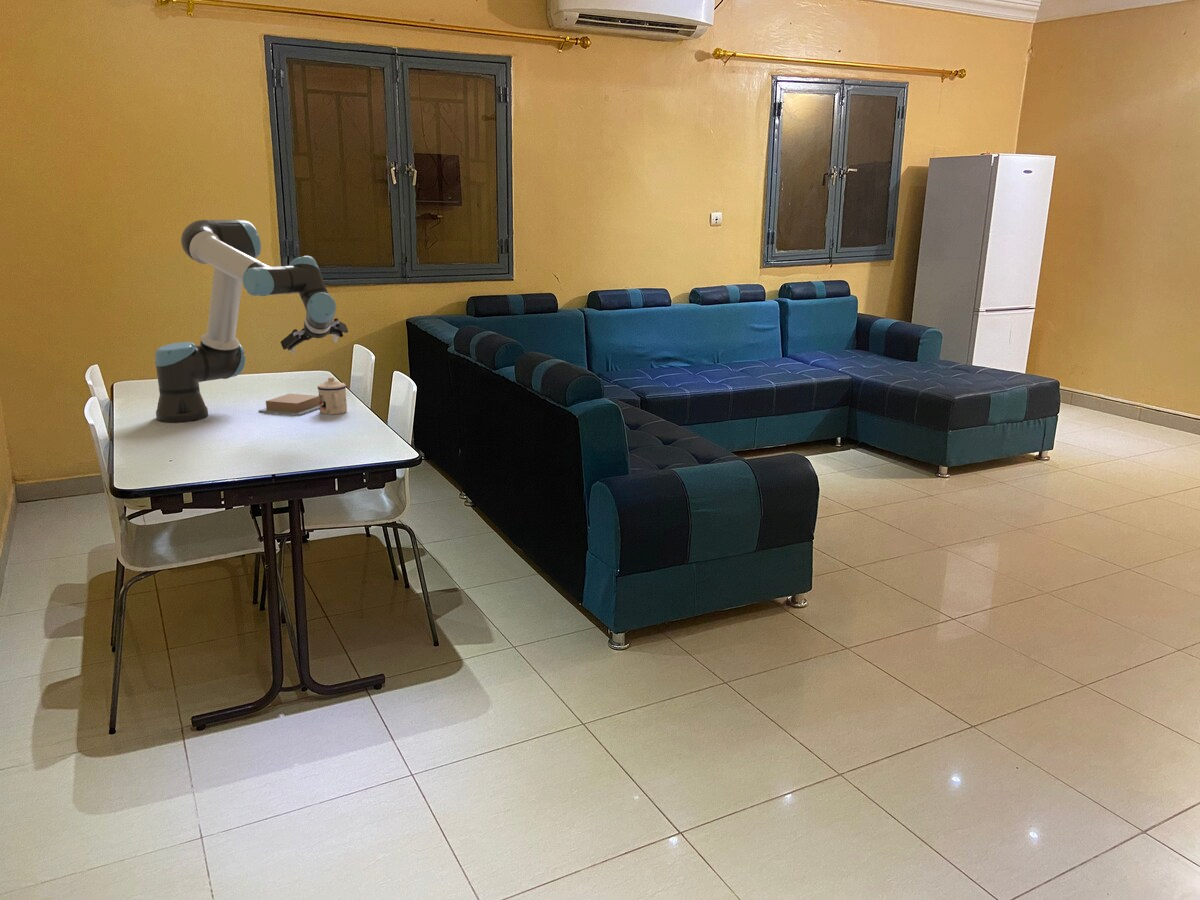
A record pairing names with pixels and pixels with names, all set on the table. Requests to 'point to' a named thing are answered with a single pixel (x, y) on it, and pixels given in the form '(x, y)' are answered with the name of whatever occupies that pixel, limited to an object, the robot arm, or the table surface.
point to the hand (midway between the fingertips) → (313, 344)
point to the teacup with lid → (332, 397)
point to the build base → (292, 404)
